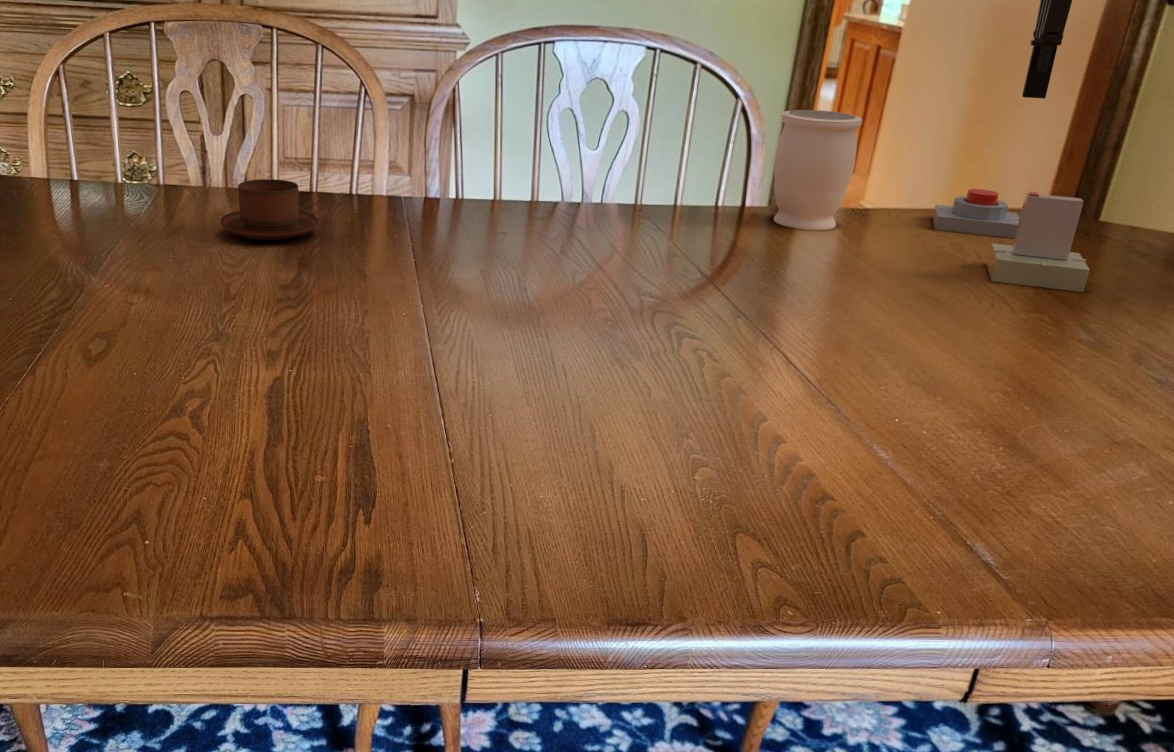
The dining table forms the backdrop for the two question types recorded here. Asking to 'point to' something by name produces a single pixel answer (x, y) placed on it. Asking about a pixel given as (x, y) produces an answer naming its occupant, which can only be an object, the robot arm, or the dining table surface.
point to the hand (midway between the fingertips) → (1033, 97)
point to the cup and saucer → (269, 211)
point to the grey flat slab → (1047, 226)
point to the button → (982, 197)
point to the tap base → (1037, 269)
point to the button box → (976, 218)
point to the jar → (813, 167)
